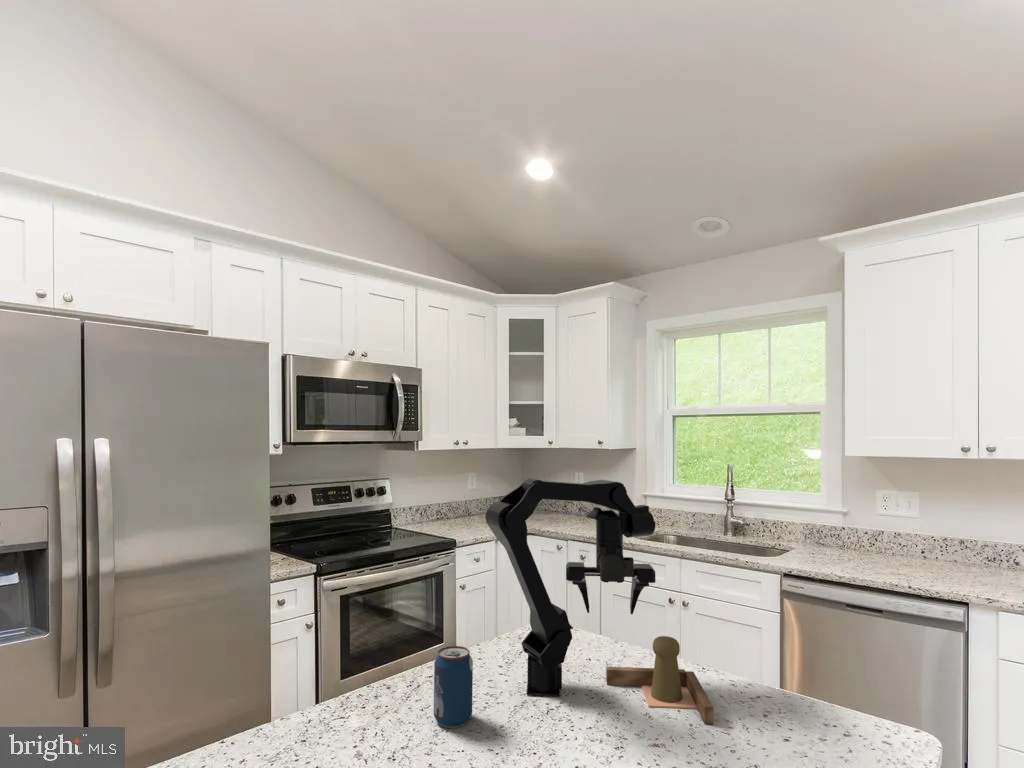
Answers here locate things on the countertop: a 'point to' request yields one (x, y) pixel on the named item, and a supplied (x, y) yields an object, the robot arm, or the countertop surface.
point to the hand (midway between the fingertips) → (609, 613)
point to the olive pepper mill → (666, 670)
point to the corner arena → (643, 677)
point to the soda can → (453, 686)
